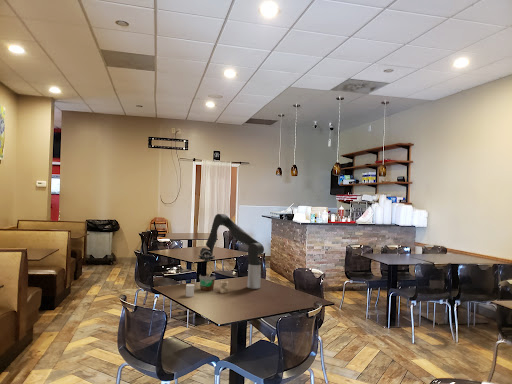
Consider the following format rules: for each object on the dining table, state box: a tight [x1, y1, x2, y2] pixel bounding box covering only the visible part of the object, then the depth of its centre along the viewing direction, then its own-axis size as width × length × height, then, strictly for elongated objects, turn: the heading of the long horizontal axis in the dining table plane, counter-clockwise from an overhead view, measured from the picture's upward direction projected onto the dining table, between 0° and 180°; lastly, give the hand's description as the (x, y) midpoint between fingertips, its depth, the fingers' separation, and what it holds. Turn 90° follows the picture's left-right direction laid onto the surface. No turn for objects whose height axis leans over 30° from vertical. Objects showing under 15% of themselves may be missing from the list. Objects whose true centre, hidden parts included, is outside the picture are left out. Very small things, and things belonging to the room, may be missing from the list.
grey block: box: [185, 283, 195, 298], centre depth 235 cm, size 5×5×7 cm
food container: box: [198, 274, 216, 292], centre depth 252 cm, size 12×6×10 cm, turn 73°
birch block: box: [219, 280, 229, 294], centre depth 250 cm, size 5×5×7 cm
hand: (206, 259), depth 266 cm, fingers closed
